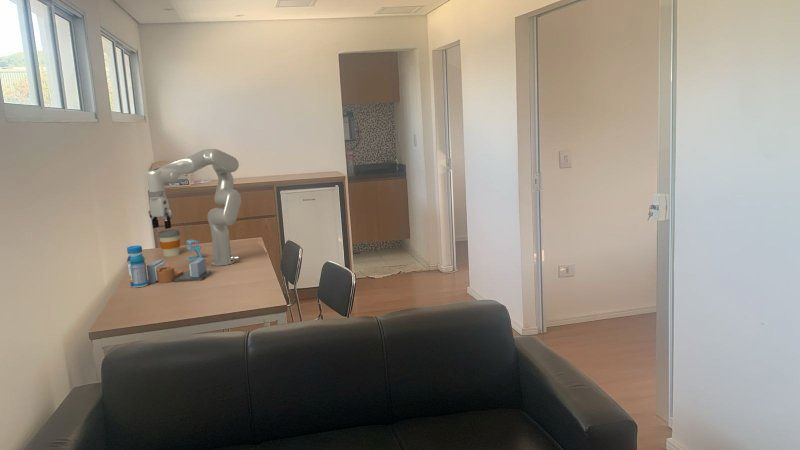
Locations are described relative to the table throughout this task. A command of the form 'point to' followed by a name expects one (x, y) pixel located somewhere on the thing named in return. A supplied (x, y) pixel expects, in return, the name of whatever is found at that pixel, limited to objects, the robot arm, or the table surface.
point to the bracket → (167, 274)
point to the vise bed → (187, 277)
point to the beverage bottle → (136, 267)
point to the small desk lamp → (196, 248)
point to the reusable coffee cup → (169, 242)
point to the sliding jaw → (197, 267)
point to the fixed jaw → (154, 270)
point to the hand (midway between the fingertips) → (162, 227)
